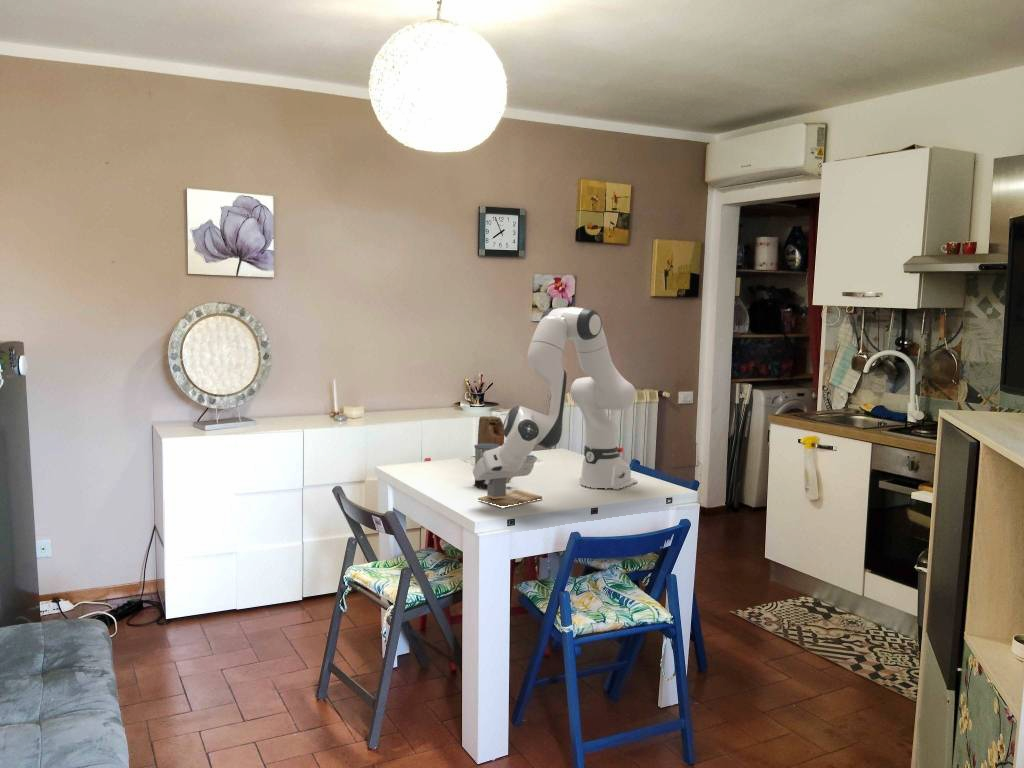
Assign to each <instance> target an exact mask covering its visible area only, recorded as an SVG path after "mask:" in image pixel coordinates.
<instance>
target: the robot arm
mask: <svg viewBox="0 0 1024 768" xmlns="http://www.w3.org/2000/svg"><path fill="white" fill-rule="evenodd" d="M602 325H603V323H602V318H601V316H600V314H599V313H598V311H597V310H594V309H592V308H588V307H585V308H582V307H576V306H570V307H551V308H549V309H546V310H545V311H544V312H543V313H542V315H541V317H540V321H539V322H538V324H537V326H536V328H535V331H534V332H533V335H532V337H531V341H530V343H529V347H528V350H527V358H526V359H527V362H528V365H529V367H530V368H531V370H532V371H533V372H534V373H535V374H536V376H538V377H539V378H541V380H542V381H544V383H546V384H547V385H548V387H549V389H550V393H551V395H550V404H549V411H548V415H547V414H543V413H541V412H537V411H535V410H533V409H531V408H527V407H525V406H522V405H515V406H514V407H513V408H511V409H509V412H508V414H507V415H506V417H505V419H504V421H503V432H504V438H506V439H505V441H504V444H503V445H502V446H499V447H497V448H495V449H492V450H489V451H485V452H484V453H483V458H481V459H480V460H479V461H478V462H477V464H476V465H475V464H474V467H473V469H472V474H473V477H474V480H475V479H476V480H485V482H486V484H491V483H492V480H491V479H497V478H506V483H508V480H509V481H511V480H512V479H513V478H515V477H524V476H529V475H531V473H532V471H533V468H534V465H535V463H536V462H537V459H538V458H537V456H535V455H534V454H533V455H532V454H531V453H532V451H533V449H534V448H535V446H536V445H538V446H540V447H542V448H543V449H549V448H552V447H554V446H557V445H558V444H559V442H560V440H561V438H562V434H563V419H564V416H563V415H564V410H565V409H564V408H565V399H566V392H567V384H568V383H567V381H568V380H567V379H568V378H567V376H568V375H567V371H566V370H565V369H564V367H563V363H562V362H563V361H562V360H563V359H562V358H563V353H564V349H565V347H566V346H565V345H566V341H574V346H575V347H574V348H575V351H576V355H577V358H578V362H579V366H580V368H581V370H582V372H583V373H585V374H586V375H587V376H583V377H580V378H576V379H575V380H574V381H572V382H573V383H572V384H571V387H570V392H569V393H570V397H571V399H572V401H573V402H574V403H575V404H576V406H577V408H579V411H580V412H581V413H582V417H583V420H584V424H585V445H584V448H583V455H584V459H583V461H582V466H581V467H582V468H581V474H580V477H579V478H578V479H579V480H580V481H579V484H580V485H581V486H582V485H583V486H582V487H585V486H586V487H585V488H590V487H591V488H592V489H597V488H605V489H606V490H608V489H607V488H613V489H612V490H620V489H619V488H622V487H624V488H626V487H625V486H627V487H629V486H628V485H630V484H632V485H634V484H633V483H635V484H637V483H638V480H637V479H636V478H634V477H632V470H631V467H630V465H629V464H628V463H627V462H625V461H624V460H623V459H622V458H621V457H620V453H621V454H623V453H624V451H625V448H624V447H623V446H617V435H618V433H617V431H618V430H617V429H618V428H617V425H616V423H615V422H614V421H613V420H612V419H611V418H609V416H608V414H607V411H606V410H608V411H609V410H610V411H626V410H630V409H631V408H632V407H633V406H634V404H635V402H636V398H637V392H636V389H635V386H634V384H632V383H630V382H629V381H628V380H626V379H625V378H624V376H622V374H621V373H620V372H619V370H618V369H617V367H616V366H615V364H614V363H613V360H612V357H611V354H610V353H611V352H610V350H609V347H608V341H607V338H606V334H605V331H604V329H603V326H602ZM530 454H531V455H530ZM510 479H511V480H510ZM630 486H631V485H630ZM591 488H590V489H591ZM605 489H604V490H605ZM622 489H623V488H622Z"/></svg>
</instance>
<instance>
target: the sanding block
mask: <svg viewBox="0 0 1024 768" xmlns="http://www.w3.org/2000/svg"><path fill="white" fill-rule="evenodd" d="M491 480H492V483H491V484H488V489H486V490H487V492H486V493H487V495H486V496H489V497H491V498H493V499H498V498H506V492H507V482H506V478H497V479H491Z"/></svg>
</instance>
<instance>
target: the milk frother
mask: <svg viewBox="0 0 1024 768" xmlns="http://www.w3.org/2000/svg"><path fill="white" fill-rule="evenodd" d="M499 446H500V445H497V444H478V443H477V444H475V445H473V447H474V455H475V456H474V466H475V465H476V464H477V462H478V461H479V460H480V459H481V458H483V453H484V452H485V451H489V450H492V449H495V448H497V447H499ZM511 480H512V478H511V479H510V480H508V481H511ZM508 481H507V482H508ZM473 486H474V487H475V488H477V487H478V488H477V489H483V488H487V489H488V484H486V482H485V480H476V479H475V478H474V485H473ZM487 489H486V490H487Z"/></svg>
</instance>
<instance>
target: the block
mask: <svg viewBox="0 0 1024 768" xmlns="http://www.w3.org/2000/svg"><path fill="white" fill-rule="evenodd" d="M503 424H504V422H503V421H502V418H501V417H500V416H499V417H498V416H494V415H490V416H479V419H478V425H477V426H478V430H477V444H497V445H500V446H502V445H503V444H504V443H505V435H504V432H503Z"/></svg>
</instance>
